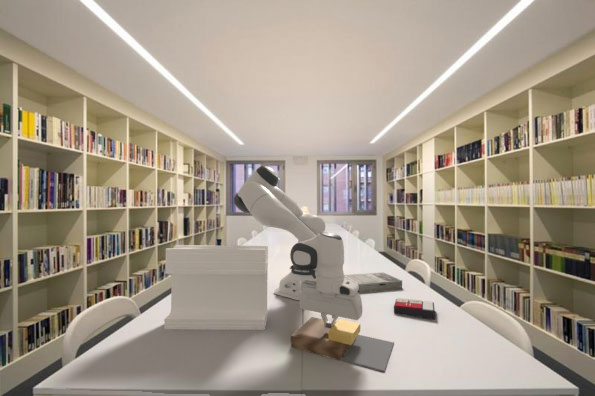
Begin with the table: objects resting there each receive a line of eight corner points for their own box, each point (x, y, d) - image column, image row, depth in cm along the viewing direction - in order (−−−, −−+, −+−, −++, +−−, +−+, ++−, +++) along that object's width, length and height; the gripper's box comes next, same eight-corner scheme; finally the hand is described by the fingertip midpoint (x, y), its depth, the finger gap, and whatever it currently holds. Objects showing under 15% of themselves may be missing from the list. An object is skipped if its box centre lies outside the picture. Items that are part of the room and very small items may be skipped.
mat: (342, 360, 80) (342, 359, 80) (357, 335, 95) (357, 334, 95) (384, 372, 74) (384, 370, 74) (393, 343, 90) (393, 342, 90)
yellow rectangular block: (328, 339, 85) (328, 331, 85) (339, 326, 93) (339, 319, 94) (351, 345, 81) (351, 336, 81) (360, 331, 90) (360, 323, 90)
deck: (290, 346, 87) (290, 335, 87) (311, 326, 101) (311, 316, 101) (340, 360, 80) (340, 347, 80) (355, 336, 94) (355, 326, 94)
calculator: (396, 297, 124) (433, 300, 118) (396, 306, 124) (434, 310, 118) (393, 305, 114) (434, 309, 108) (394, 315, 114) (435, 320, 108)
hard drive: (340, 283, 158) (340, 275, 158) (382, 279, 166) (382, 272, 166) (356, 293, 140) (356, 284, 140) (402, 289, 148) (402, 280, 148)
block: (266, 320, 107) (267, 245, 107) (264, 329, 99) (265, 249, 99) (174, 319, 106) (175, 245, 107) (164, 329, 98) (165, 248, 99)
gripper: (296, 281, 92) (295, 324, 91) (358, 291, 82) (358, 339, 82) (304, 277, 97) (304, 317, 97) (363, 285, 88) (363, 330, 88)
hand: (329, 327), depth 89 cm, fingers closed
